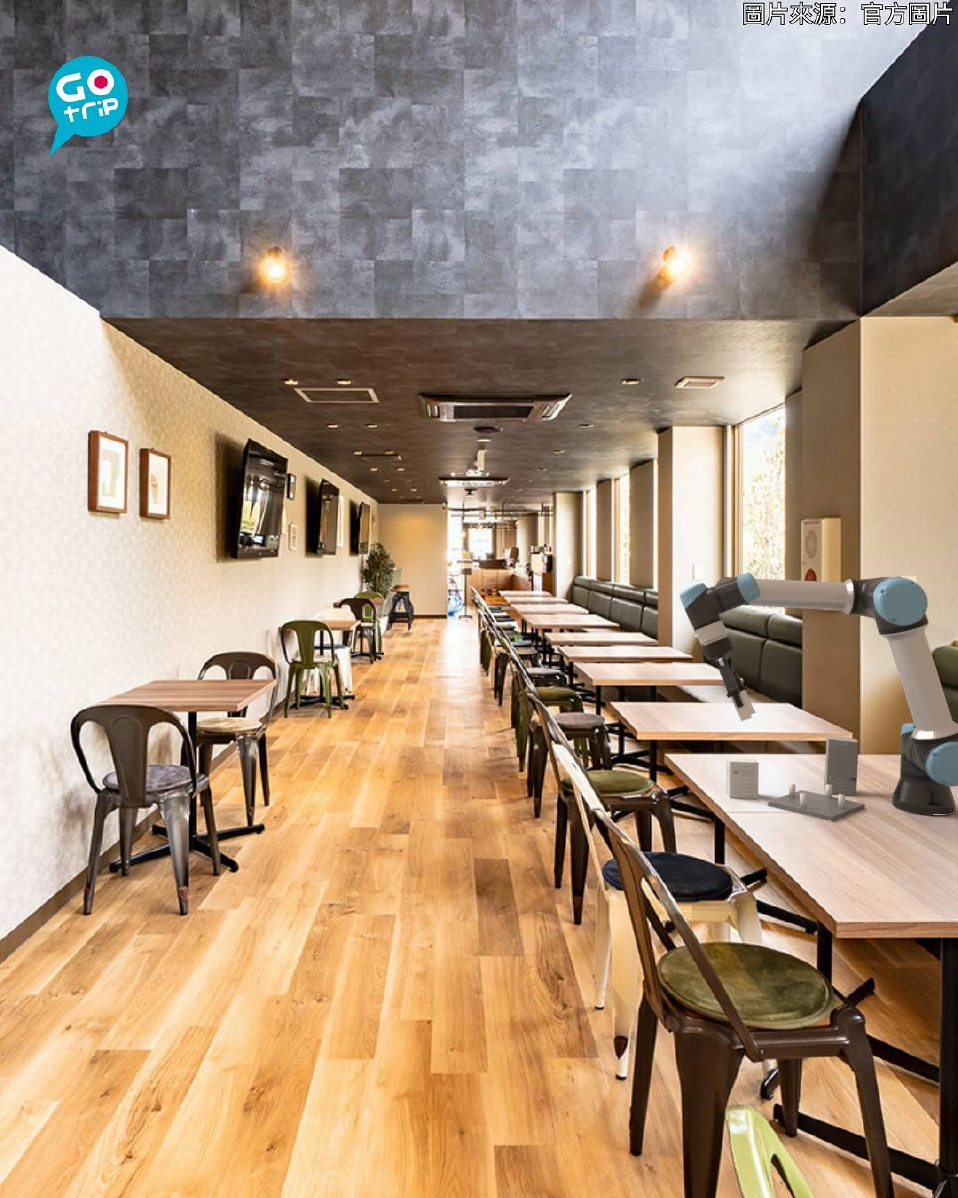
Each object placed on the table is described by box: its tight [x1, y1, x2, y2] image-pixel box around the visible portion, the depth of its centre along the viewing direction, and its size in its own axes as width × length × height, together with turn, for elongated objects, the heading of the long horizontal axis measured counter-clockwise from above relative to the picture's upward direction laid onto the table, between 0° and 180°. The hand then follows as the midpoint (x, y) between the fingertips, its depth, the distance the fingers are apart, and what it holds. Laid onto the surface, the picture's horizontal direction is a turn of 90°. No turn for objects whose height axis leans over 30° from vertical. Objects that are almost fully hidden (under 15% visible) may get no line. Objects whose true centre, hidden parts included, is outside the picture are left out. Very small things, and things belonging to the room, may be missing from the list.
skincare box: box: [823, 735, 860, 797], centre depth 241 cm, size 8×7×16 cm
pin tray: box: [767, 783, 866, 822], centre depth 226 cm, size 18×18×5 cm
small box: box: [725, 756, 760, 800], centre depth 236 cm, size 8×6×10 cm
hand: (748, 717), depth 214 cm, fingers open, 13 cm apart
